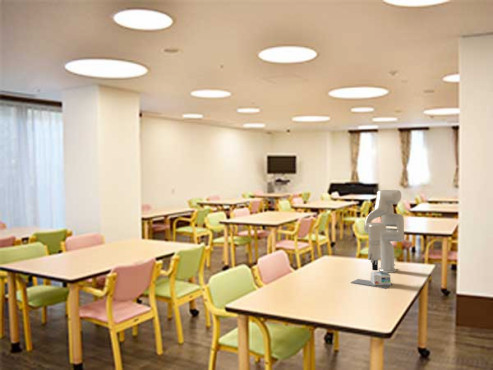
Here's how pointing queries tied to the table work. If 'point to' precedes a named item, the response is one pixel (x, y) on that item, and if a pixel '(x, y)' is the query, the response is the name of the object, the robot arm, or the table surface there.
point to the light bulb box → (380, 278)
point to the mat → (369, 283)
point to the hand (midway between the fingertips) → (375, 270)
